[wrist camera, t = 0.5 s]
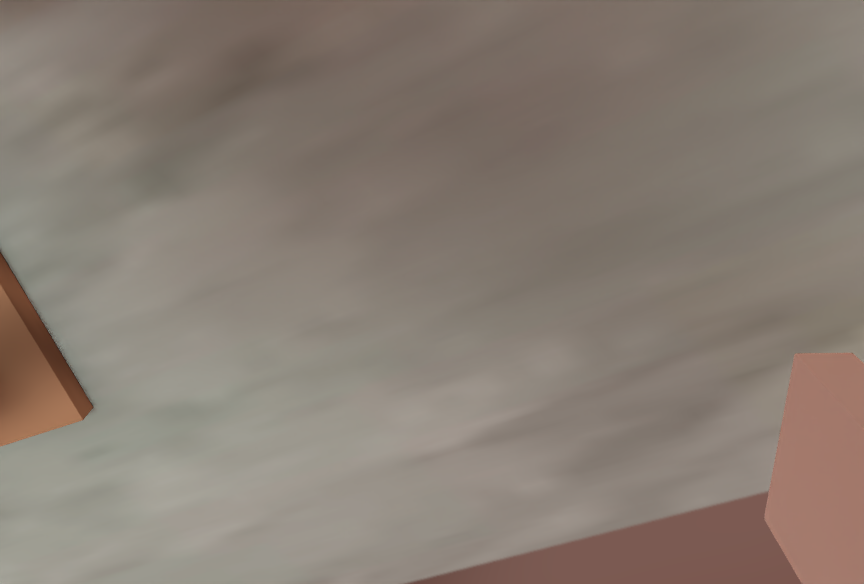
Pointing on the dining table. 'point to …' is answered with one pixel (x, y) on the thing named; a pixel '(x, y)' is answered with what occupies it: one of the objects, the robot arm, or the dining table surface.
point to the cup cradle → (32, 370)
